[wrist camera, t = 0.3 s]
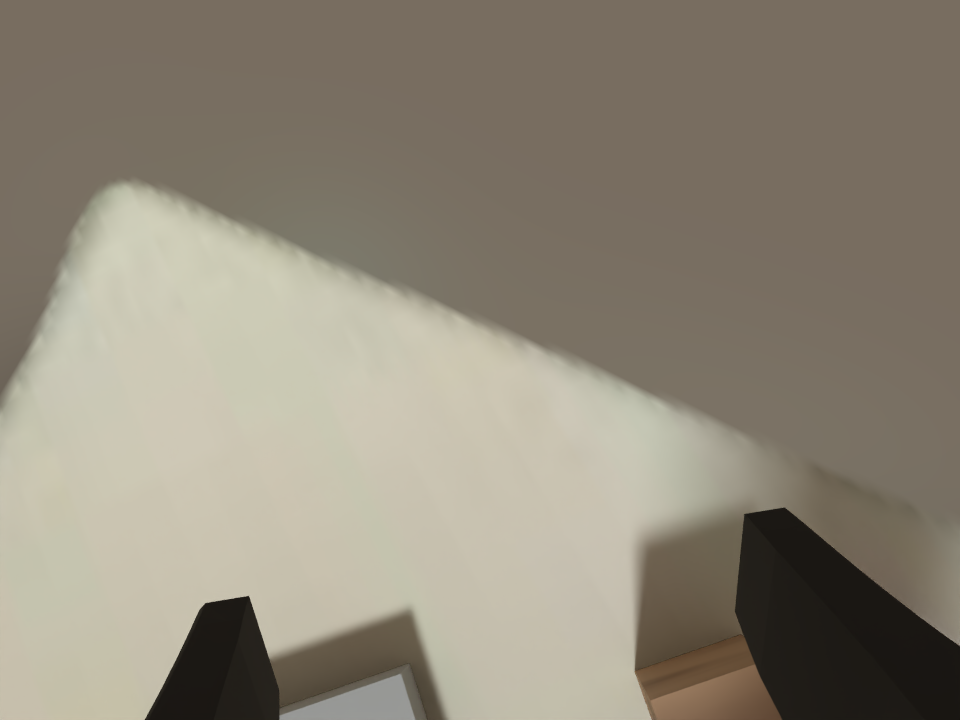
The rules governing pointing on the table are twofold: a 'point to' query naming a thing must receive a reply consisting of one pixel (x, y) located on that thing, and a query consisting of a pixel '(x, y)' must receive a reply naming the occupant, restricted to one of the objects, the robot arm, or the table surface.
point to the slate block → (364, 700)
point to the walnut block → (708, 685)
